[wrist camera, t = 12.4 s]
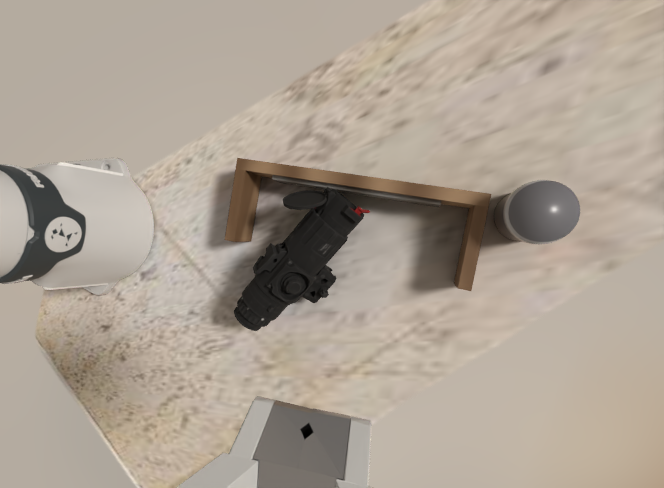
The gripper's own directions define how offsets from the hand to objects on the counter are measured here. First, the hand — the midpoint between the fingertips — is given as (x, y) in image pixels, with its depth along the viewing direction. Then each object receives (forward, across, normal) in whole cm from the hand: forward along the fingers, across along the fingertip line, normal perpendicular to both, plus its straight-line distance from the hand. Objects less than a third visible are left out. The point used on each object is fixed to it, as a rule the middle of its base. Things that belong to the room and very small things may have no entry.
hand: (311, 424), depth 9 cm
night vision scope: (+30, +6, +10) cm, 32 cm away
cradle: (+31, +1, +5) cm, 31 cm away
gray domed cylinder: (+30, -16, +1) cm, 33 cm away
